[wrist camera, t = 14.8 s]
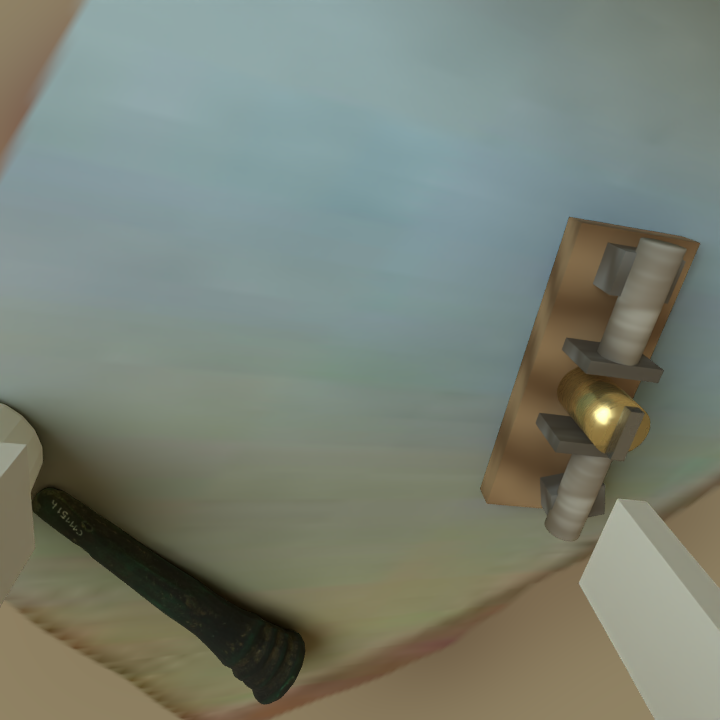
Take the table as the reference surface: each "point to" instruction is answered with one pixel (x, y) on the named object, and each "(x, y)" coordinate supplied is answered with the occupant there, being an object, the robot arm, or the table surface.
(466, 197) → the table surface
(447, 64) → the table surface
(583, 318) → the double roll holder
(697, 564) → the robot arm
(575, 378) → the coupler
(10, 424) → the bottle
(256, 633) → the tool
